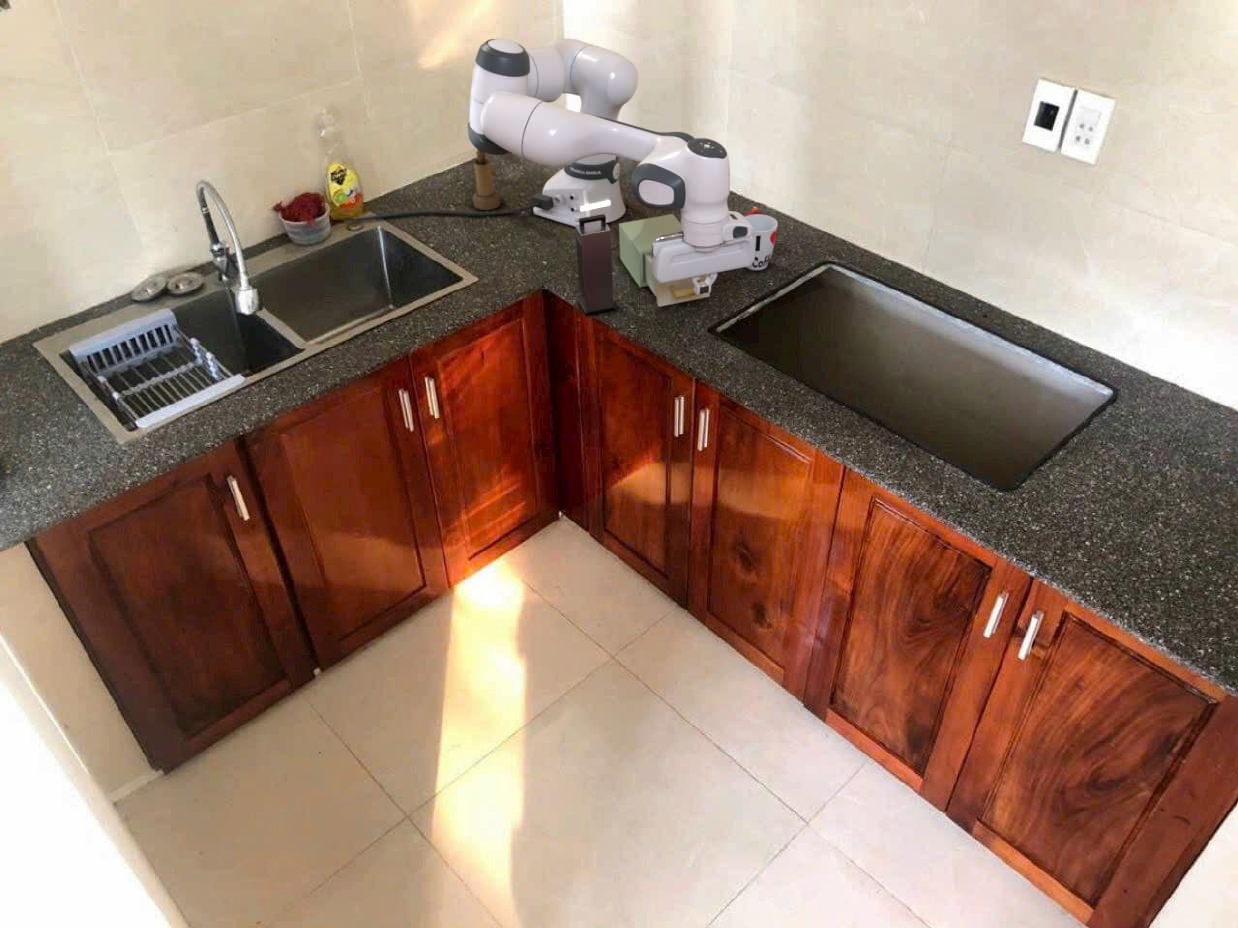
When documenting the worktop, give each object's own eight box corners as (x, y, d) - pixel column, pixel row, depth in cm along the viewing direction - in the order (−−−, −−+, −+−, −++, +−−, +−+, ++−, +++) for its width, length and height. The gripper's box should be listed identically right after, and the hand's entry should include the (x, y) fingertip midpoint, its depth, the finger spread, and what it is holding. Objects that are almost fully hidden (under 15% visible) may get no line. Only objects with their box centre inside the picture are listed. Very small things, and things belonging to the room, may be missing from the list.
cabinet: (694, 276, 217) (695, 241, 211) (639, 287, 214) (639, 251, 209) (672, 248, 227) (672, 213, 221) (620, 258, 224) (618, 223, 219)
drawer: (717, 306, 206) (718, 277, 201) (665, 317, 203) (665, 288, 199) (688, 268, 218) (688, 240, 214) (638, 278, 216) (638, 250, 211)
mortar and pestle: (505, 202, 247) (497, 131, 236) (489, 212, 243) (480, 141, 232) (484, 196, 250) (475, 126, 238) (468, 206, 246) (458, 136, 234)
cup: (750, 277, 216) (753, 235, 210) (730, 261, 222) (732, 220, 215) (781, 267, 219) (785, 226, 212) (761, 252, 224) (763, 211, 218)
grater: (615, 310, 208) (611, 220, 194) (585, 316, 206) (580, 225, 193) (608, 299, 211) (604, 209, 198) (579, 304, 210) (573, 215, 196)
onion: (766, 233, 231) (768, 201, 226) (766, 245, 227) (769, 213, 221) (741, 232, 232) (743, 200, 226) (741, 244, 227) (742, 212, 222)
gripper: (657, 245, 182) (657, 310, 191) (760, 225, 186) (756, 290, 195) (646, 229, 186) (647, 294, 195) (747, 211, 191) (743, 275, 200)
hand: (702, 292), depth 195 cm, fingers closed
